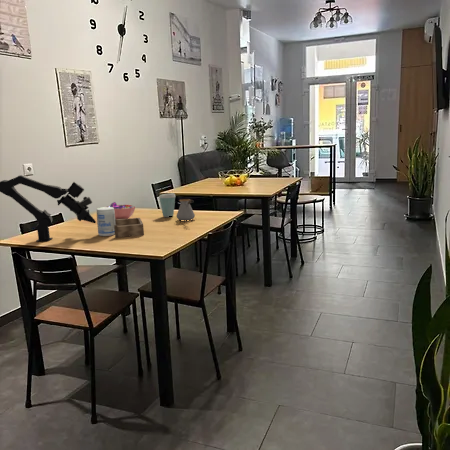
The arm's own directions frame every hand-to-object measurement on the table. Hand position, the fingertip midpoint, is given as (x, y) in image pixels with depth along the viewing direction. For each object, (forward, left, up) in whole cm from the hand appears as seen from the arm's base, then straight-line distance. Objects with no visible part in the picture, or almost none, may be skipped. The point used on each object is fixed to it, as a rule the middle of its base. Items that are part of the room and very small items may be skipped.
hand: (95, 222), depth 244 cm
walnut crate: (+5, -16, -7) cm, 19 cm away
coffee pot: (+32, -46, -7) cm, 57 cm away
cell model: (+44, -1, -7) cm, 44 cm away
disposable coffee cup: (+50, -31, -7) cm, 59 cm away
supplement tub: (+2, -5, -7) cm, 9 cm away
